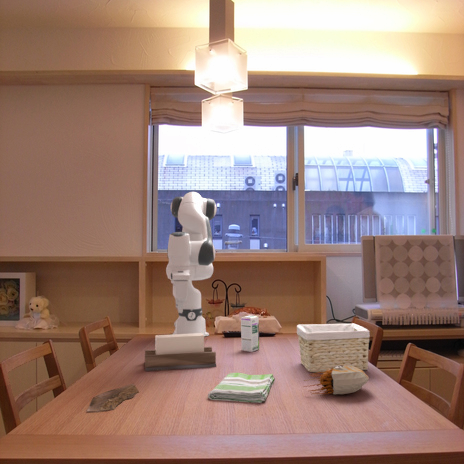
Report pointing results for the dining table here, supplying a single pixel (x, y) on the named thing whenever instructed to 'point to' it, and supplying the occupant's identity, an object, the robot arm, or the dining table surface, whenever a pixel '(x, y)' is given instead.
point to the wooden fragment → (112, 398)
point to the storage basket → (333, 346)
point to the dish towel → (243, 388)
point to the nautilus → (341, 380)
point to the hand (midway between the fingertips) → (179, 310)
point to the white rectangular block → (179, 343)
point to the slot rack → (179, 360)
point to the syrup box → (250, 333)
